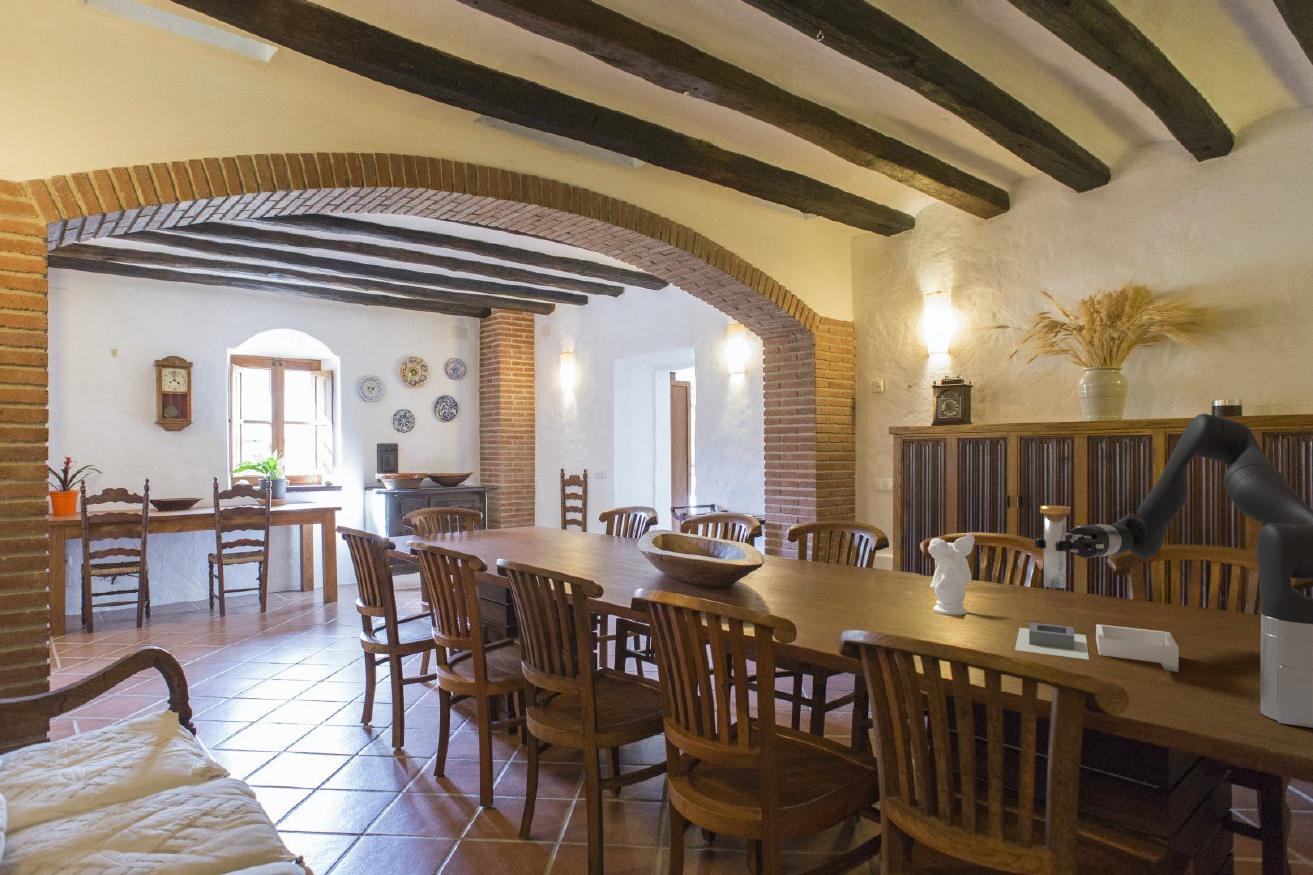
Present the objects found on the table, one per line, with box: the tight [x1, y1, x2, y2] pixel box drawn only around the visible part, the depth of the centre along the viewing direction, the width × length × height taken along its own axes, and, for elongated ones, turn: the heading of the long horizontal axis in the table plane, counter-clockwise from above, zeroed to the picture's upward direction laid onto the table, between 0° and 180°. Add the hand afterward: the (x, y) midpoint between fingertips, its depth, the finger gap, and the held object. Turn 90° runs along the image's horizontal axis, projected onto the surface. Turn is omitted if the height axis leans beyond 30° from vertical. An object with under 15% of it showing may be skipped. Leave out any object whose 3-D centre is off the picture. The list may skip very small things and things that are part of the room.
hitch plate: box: [1014, 622, 1090, 660], centre depth 168 cm, size 22×14×4 cm, turn 151°
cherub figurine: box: [927, 532, 976, 616], centre depth 206 cm, size 12×12×22 cm
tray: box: [1095, 623, 1180, 673], centre depth 161 cm, size 14×14×5 cm
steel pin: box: [1039, 505, 1071, 589], centre depth 168 cm, size 6×6×18 cm
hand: (1047, 544), depth 167 cm, fingers closed on steel pin, 4 cm apart
